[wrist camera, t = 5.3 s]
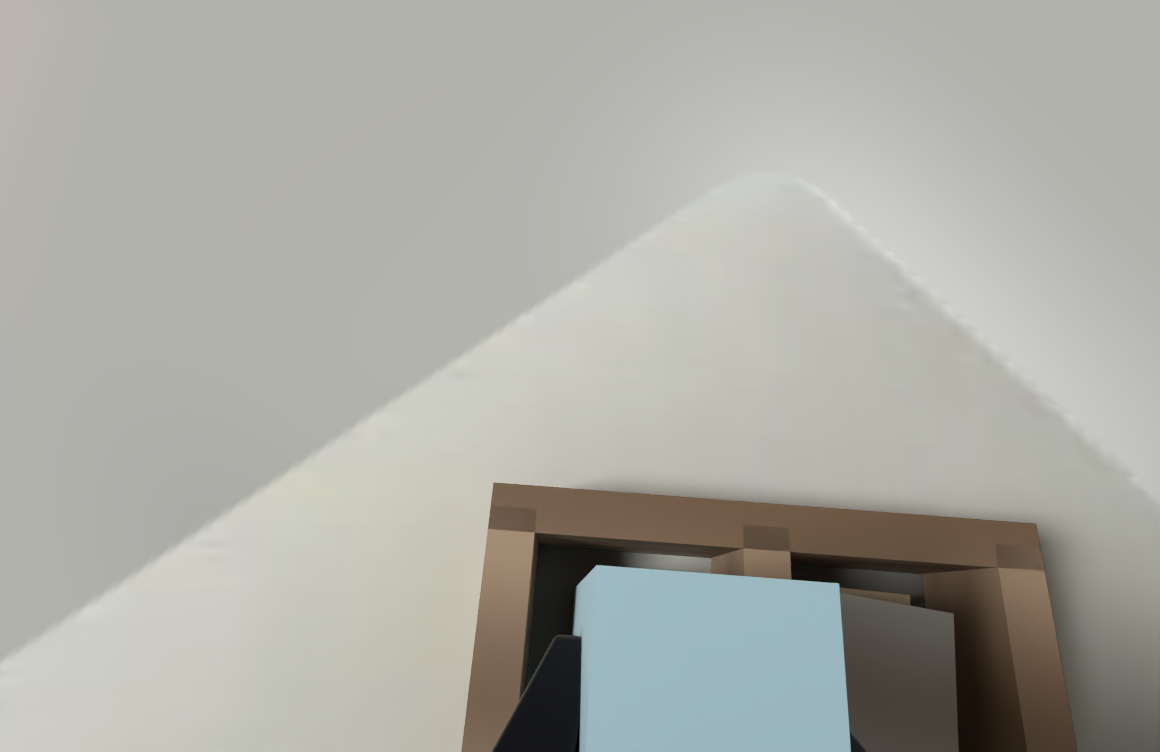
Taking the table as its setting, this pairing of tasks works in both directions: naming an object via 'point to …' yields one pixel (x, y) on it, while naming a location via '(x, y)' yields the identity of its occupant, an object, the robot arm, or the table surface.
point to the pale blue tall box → (709, 663)
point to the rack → (767, 549)
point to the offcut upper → (899, 676)
